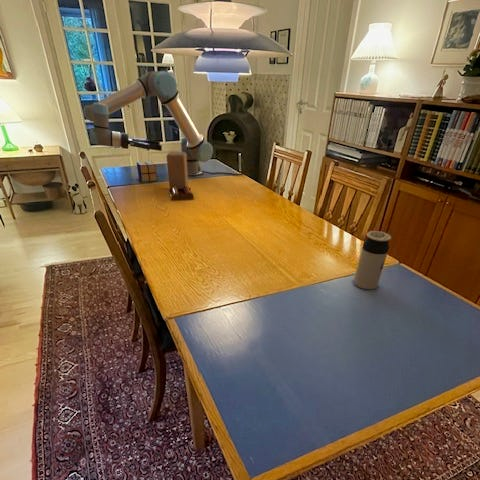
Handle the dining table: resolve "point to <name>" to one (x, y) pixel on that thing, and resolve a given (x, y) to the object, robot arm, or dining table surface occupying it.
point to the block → (177, 169)
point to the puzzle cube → (147, 171)
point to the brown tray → (181, 193)
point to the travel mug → (372, 259)
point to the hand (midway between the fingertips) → (160, 146)
